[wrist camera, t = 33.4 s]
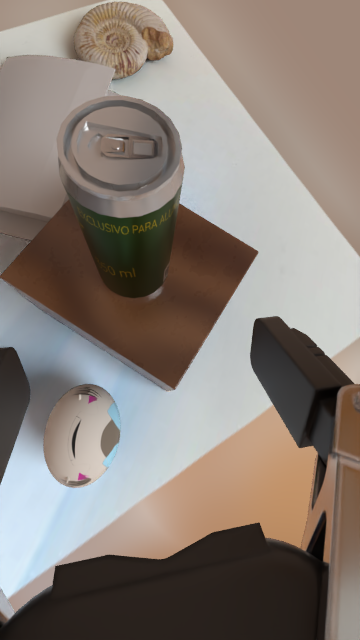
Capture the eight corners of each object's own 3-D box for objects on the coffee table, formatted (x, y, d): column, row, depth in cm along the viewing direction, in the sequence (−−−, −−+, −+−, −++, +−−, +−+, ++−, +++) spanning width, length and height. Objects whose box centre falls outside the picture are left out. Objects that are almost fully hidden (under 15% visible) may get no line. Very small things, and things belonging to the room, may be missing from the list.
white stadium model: (133, 97, 38) (132, 64, 35) (79, 252, 32) (69, 233, 29) (16, 64, 38) (2, 28, 34) (-62, 217, 32) (-90, 193, 28)
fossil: (135, -11, 40) (178, 7, 36) (142, 38, 44) (180, 59, 40) (53, 15, 37) (88, 38, 33) (69, 65, 41) (102, 91, 37)
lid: (106, 164, 26) (105, 157, 26) (255, 255, 26) (259, 251, 25) (3, 280, 23) (-2, 276, 22) (174, 390, 22) (175, 389, 21)
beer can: (168, 239, 24) (186, 97, 13) (168, 302, 23) (188, 206, 11) (101, 236, 24) (56, 85, 12) (97, 300, 22) (42, 198, 11)
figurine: (118, 476, 27) (109, 501, 21) (52, 473, 27) (21, 497, 20) (128, 387, 29) (122, 385, 23) (66, 383, 29) (42, 379, 22)
